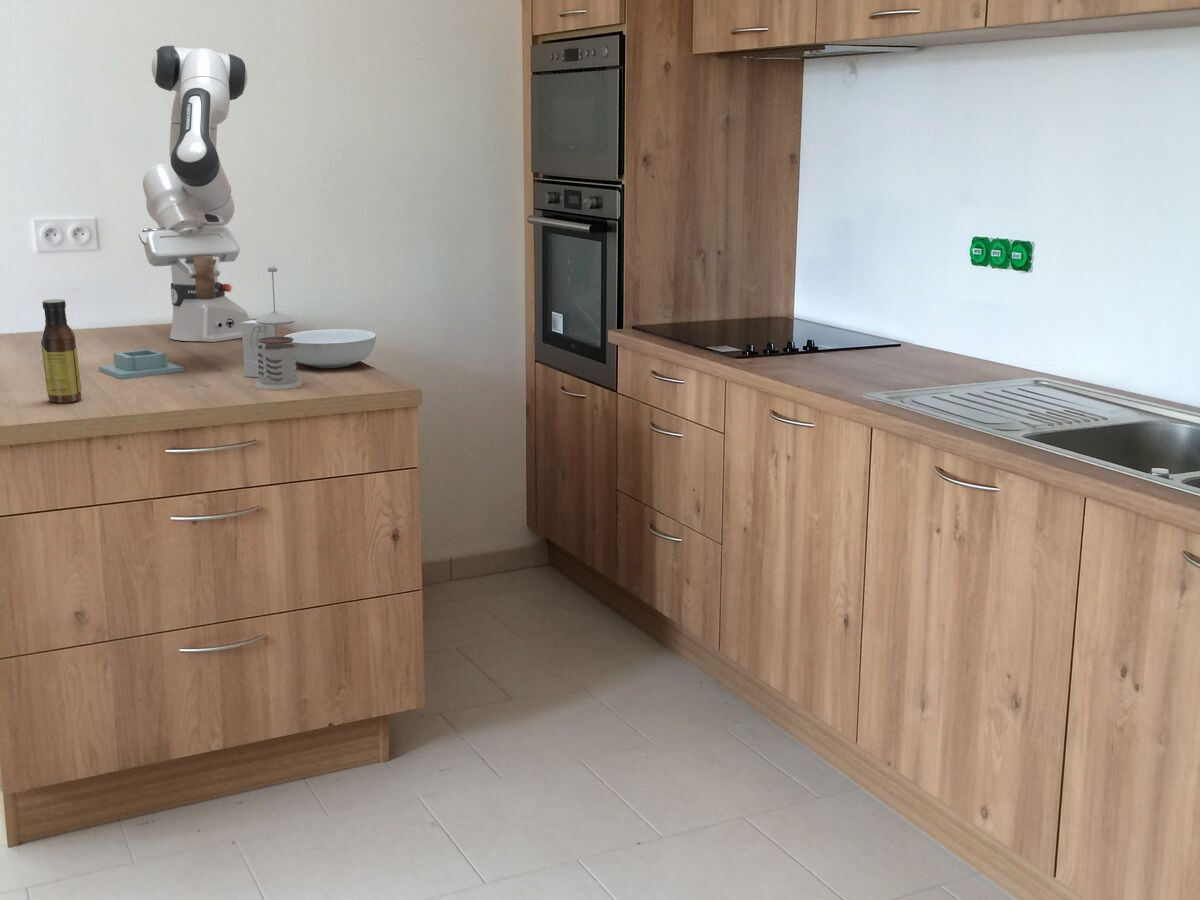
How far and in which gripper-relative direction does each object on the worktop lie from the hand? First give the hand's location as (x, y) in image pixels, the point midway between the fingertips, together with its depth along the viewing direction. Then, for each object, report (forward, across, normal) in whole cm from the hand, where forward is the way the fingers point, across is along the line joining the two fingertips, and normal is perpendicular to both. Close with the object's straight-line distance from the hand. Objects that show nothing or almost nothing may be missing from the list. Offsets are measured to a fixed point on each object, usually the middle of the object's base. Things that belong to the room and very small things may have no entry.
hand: (204, 275), depth 267 cm
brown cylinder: (+3, 0, +4) cm, 5 cm away
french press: (+30, +4, 0) cm, 30 cm away
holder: (+8, -12, +22) cm, 26 cm away
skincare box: (+23, +6, +7) cm, 25 cm away
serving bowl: (+21, +25, +9) cm, 34 cm away
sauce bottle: (+23, -36, +7) cm, 43 cm away
